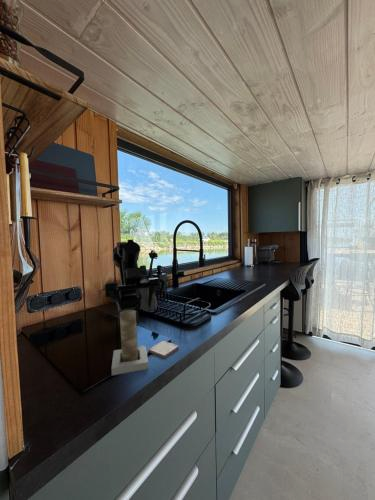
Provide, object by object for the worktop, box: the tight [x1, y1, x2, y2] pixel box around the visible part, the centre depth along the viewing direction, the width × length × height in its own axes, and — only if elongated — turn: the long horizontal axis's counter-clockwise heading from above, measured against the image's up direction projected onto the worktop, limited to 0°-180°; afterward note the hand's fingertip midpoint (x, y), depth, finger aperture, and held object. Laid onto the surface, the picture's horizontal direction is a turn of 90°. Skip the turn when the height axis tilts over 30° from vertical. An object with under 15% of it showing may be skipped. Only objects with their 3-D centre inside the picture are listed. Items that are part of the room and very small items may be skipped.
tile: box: [148, 340, 179, 359], centre depth 74 cm, size 7×7×1 cm
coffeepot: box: [138, 274, 166, 310], centre depth 113 cm, size 15×9×18 cm, turn 112°
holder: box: [110, 345, 149, 376], centre depth 67 cm, size 10×10×2 cm
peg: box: [119, 310, 139, 363], centre depth 67 cm, size 5×5×16 cm
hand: (136, 309), depth 74 cm, fingers open, 9 cm apart
